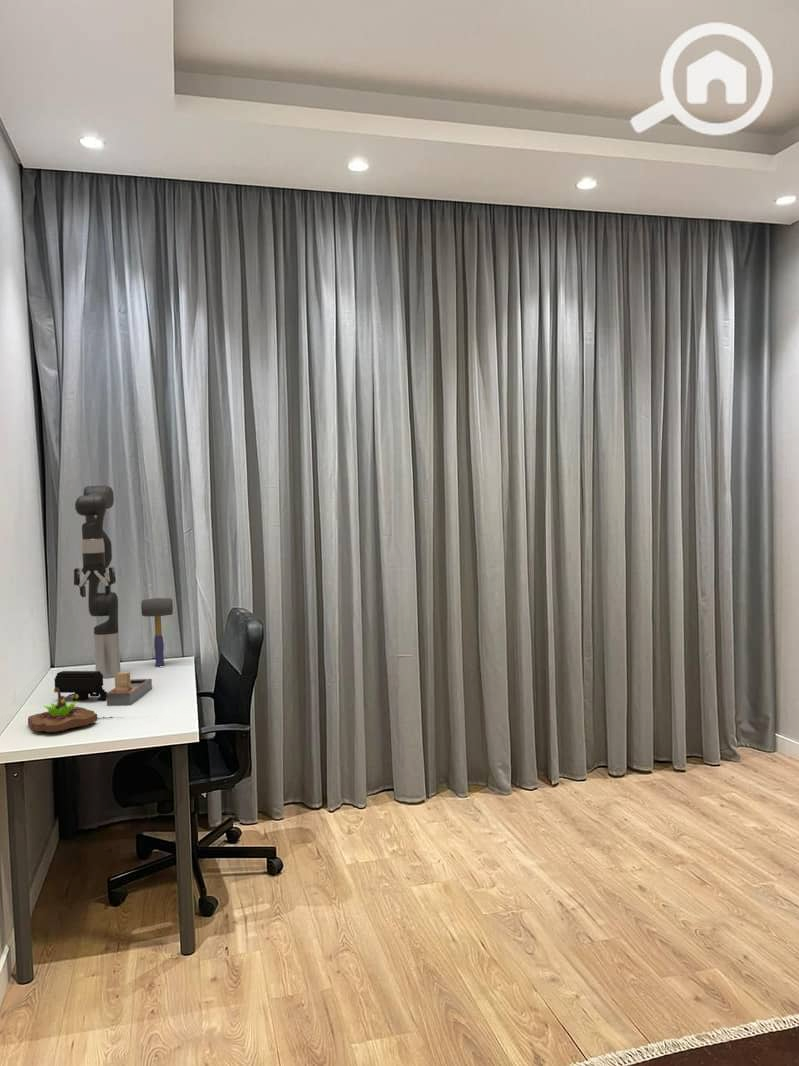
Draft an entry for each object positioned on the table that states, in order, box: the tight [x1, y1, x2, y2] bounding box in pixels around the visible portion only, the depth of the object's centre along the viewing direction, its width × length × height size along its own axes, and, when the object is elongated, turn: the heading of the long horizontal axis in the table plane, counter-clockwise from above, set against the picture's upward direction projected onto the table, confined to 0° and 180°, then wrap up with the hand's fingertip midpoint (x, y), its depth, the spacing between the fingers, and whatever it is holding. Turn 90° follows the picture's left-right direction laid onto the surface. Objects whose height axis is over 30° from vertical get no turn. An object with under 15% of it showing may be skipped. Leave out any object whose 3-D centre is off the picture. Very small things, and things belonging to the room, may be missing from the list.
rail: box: [106, 678, 153, 707], centre depth 305 cm, size 24×8×4 cm, turn 179°
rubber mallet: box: [140, 597, 174, 668], centre depth 352 cm, size 12×8×30 cm, turn 101°
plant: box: [27, 687, 98, 733], centre depth 273 cm, size 20×20×11 cm
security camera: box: [53, 670, 108, 702], centre depth 303 cm, size 7×18×10 cm, turn 79°
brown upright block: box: [114, 671, 131, 692], centre depth 298 cm, size 4×4×9 cm
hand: (95, 596), depth 307 cm, fingers open, 8 cm apart
